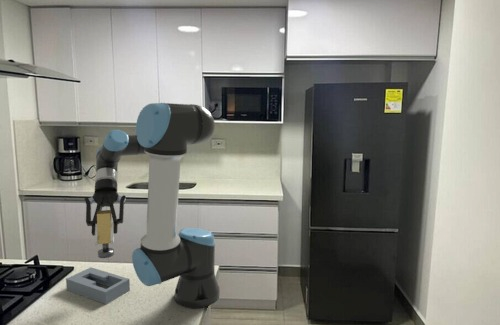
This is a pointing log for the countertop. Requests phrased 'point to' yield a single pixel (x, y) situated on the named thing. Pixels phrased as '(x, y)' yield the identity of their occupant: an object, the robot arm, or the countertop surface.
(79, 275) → the keyhole block
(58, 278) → the countertop surface
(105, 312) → the countertop surface
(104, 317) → the countertop surface
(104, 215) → the peg
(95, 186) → the robot arm
